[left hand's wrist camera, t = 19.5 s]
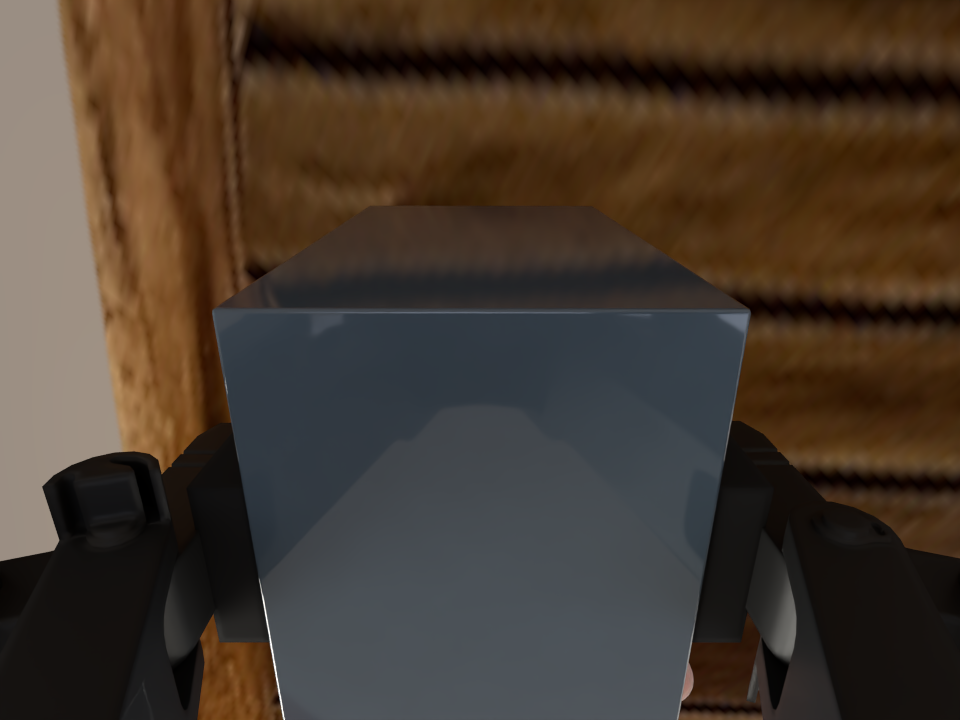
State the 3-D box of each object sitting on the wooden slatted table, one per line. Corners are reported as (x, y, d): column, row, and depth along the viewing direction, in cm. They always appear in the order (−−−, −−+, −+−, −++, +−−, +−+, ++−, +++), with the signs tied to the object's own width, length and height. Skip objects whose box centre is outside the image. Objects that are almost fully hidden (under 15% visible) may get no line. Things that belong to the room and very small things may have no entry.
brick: (385, 446, 19) (289, 760, 9) (368, 205, 16) (209, 308, 7) (576, 446, 19) (672, 762, 9) (593, 205, 16) (752, 309, 7)
